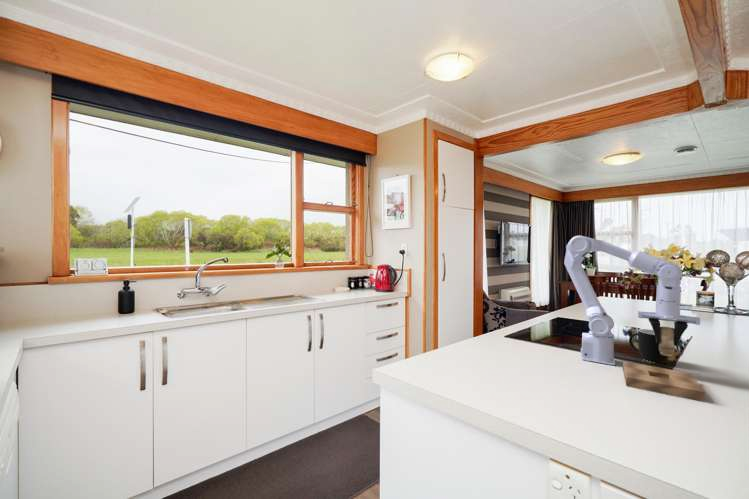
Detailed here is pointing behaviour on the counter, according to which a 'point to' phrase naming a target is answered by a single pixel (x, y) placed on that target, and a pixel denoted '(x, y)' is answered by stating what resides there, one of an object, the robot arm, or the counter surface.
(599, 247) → the robot arm
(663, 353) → the peg
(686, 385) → the board
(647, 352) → the mug
